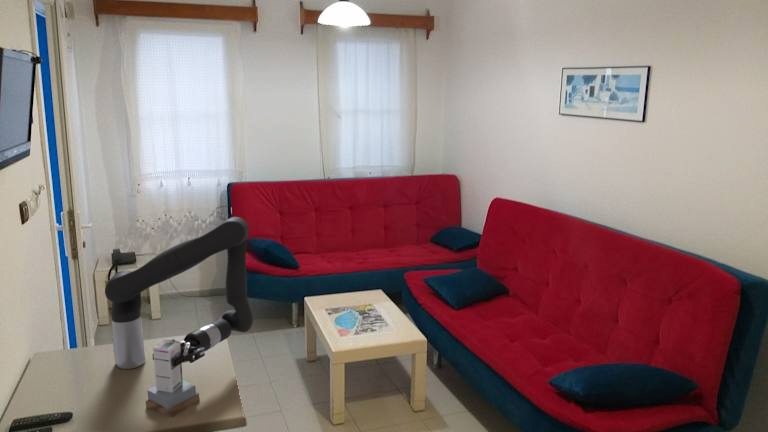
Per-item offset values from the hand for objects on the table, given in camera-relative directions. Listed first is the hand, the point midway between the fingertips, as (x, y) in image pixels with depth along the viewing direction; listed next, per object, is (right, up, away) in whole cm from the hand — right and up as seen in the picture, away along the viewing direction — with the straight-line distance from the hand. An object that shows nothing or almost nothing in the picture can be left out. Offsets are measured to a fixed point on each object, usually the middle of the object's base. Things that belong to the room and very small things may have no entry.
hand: (163, 360), depth 177 cm
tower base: (+1, -15, +6) cm, 16 cm away
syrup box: (0, -9, +5) cm, 11 cm away
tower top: (+1, -12, +5) cm, 13 cm away
